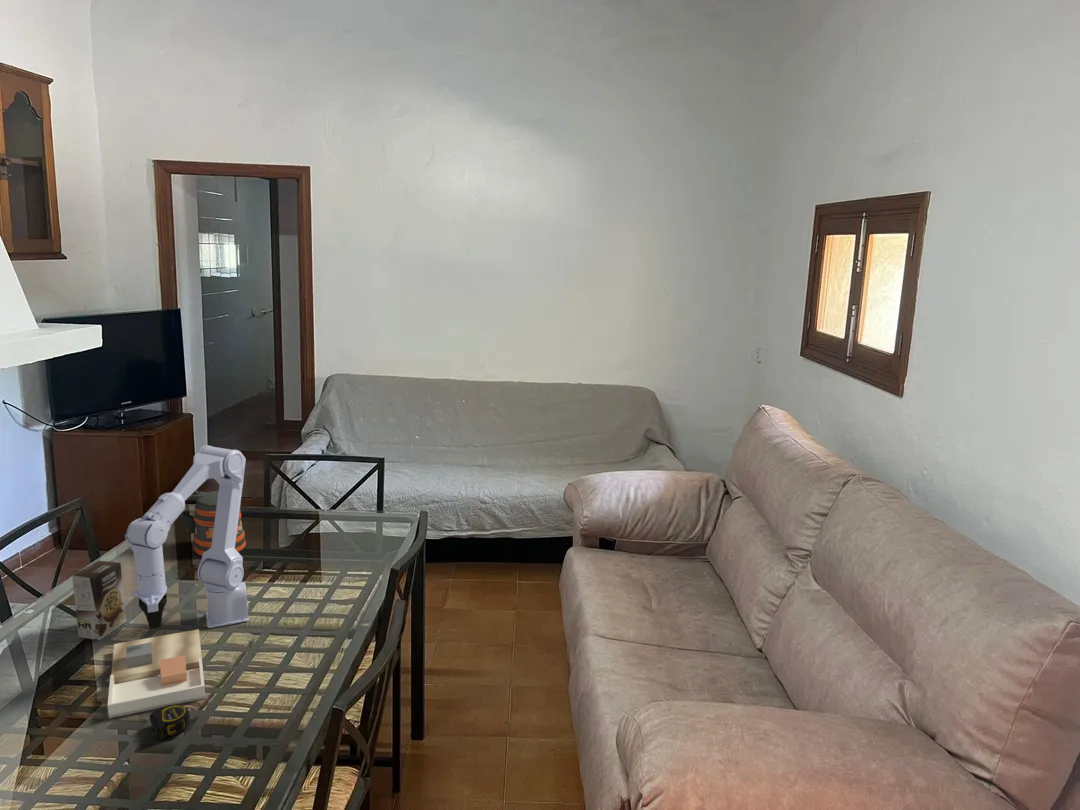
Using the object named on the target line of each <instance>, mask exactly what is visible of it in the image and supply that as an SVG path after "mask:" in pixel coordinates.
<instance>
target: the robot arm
mask: <svg viewBox="0 0 1080 810" xmlns="http://www.w3.org/2000/svg"><path fill="white" fill-rule="evenodd" d="M246 459H247V458H246V456H244V454H243V453H242V452H241V451H240V450H239V449H229V448H222V447H218V446H217V447H216V446H212V445H203V446H202V447H201V448H200V449H198V451H197V453H195V454H194V455H193V460H192V461H193V462H192V465H191V467H190V468H189V469H188V471H186V473H185V474H184V475H183V477H182V478H181V480H180V481H179V482H178V484H177V485H176V486H175V488H174V489H173V490H172V491H171V492H165V493H162V494H161V495H160V496H159V497H158V499H157V500H156V502H155V503H153V504H152V506H150V508H149V510H147V512H145V513H144V515H143V516H142V517H139V518H138V519H137V518H136V519H135V520H133V521H132V522H130V523H129V525H128V527H127V529H126V534H124V537H125V540H126V542H127V543H129V545H130V550H131V551H132V552H133V559H134V569H135V570H134V571H135V579H136V587H137V588H136V589H134V590H132V591H131V596H132V598H138V607H139V609H140V610H141V611H142V612H143V614H144V615H145V618H146V620H147V624H148V626H149V629H150V630H153V629H158V628H159V629H160V628H161V626H162V622H163V621H162V620H163V613H164V609H165V607H166V605H167V601H168V598H167V597H168V596H167V592H168V586H167V583H166V573H165V571H166V570H165V564H164V553H163V552H164V551H163V550H164V549H163V544H164V543H165V542H166V541H167V538H168V533H169V531H170V530H171V526H172V525H173V523H174V522H175V521H176V520H177V519H178V518H179V515H180V514H181V513H182V512H183V511H185V509H186V502H185V500H186V499H188V498H189V497H190V496H191V495H192V494H193V493H194V492H195V491H196V490H197V491H198V489H199V488H200V487H201V486H202V485H203V484H204V483H205V482H206V481H207V480H213V479H214V480H215V481H216V482H217V484H218V485H219V486H218V491H219V492H218V500H217V507H216V515H215V523H214V531H213V538H212V546H211V548H210V549H209V550H207V551H206V552H204V553H203V554H202V556H201V560H200V563H199V565H198V568H197V571H196V572H197V573H196V574H197V579H198V580H199V581H200V582H202V584H203V588H205V593H206V607H207V611H206V612H205V618H206V626H207V629H213V628H218V627H224V626H229V625H234V624H239V623H246V622H249V602H248V595H247V587H246V582H245V581H243V578H244V575H245V574H244V572H245V571H244V570H245V569H244V567H243V561H244V560H243V559H244V558H243V556H242V555H241V554H240V552H237V551H236V549H235V541H236V534H237V526H238V518H239V510H240V511H241V501H242V494H243V486H244V480H245V479H244V477H245V468H246Z"/></svg>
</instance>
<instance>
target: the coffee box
mask: <svg viewBox="0 0 1080 810" xmlns="http://www.w3.org/2000/svg"><path fill="white" fill-rule="evenodd" d="M71 577H72V588H73V595H74V596H73V597H74V605H75V615H76V625H77V635H78V638H83V639H89V640H95V639H100V640H99V641H102V640H103V639H105V638H106V637H108V636H109V635H110V634H112V633H113V632H114V631H113V630H115V629H116V628H118V627H119V626H121V625H122V624H124V623H125V622H126V623H127V615H126V606H125V596H124V595H125V594H124V593H125V592H124V587H123V586H124V585H123V583H124V582H123V575H122V563H121V562H117V561H107V560H97V561H95V562H94V563H92V564H90V565H88V566H86V567H85V568H82V569H81V570H79V571H77V572H76V573H73V574H72V575H71ZM126 623H125V624H126ZM125 624H124V625H125ZM122 626H123V625H122ZM122 626H121V627H122ZM119 628H120V627H119ZM119 628H118V629H119ZM116 630H117V629H116ZM116 630H115V631H116ZM112 631H113V632H112ZM111 632H112V633H111ZM108 634H109V635H108ZM107 635H108V636H107ZM105 636H106V637H105ZM104 637H105V638H104ZM102 638H103V639H102ZM101 639H102V640H101Z"/></svg>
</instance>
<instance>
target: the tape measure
mask: <svg viewBox="0 0 1080 810" xmlns="http://www.w3.org/2000/svg"><path fill="white" fill-rule="evenodd" d="M190 715H191V714H190V711H189V709H188V708H187V707H186V706H184V704H173V705H168V706H165V707H162V708H158V709H156V710H154V711H153V712H151V713H150V715H149V721H150V724H151V725H152V727H153V729H154V735H155V737H154V738H155V739H158V740H163V739H166V738H167V737H170V736H175V735H179V734H180V733H181V732H183V731H185V730H186V729H187V727H188V726H189V723H190V721H191V717H190Z"/></svg>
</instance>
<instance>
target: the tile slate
mask: <svg viewBox="0 0 1080 810" xmlns="http://www.w3.org/2000/svg"><path fill="white" fill-rule="evenodd" d="M152 654H153V652H152V642H150V643H145V644H139V645H133V646H128V647H127V651H126V662H127V668H131V667H136V666H141V665H147V664H152Z"/></svg>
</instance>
